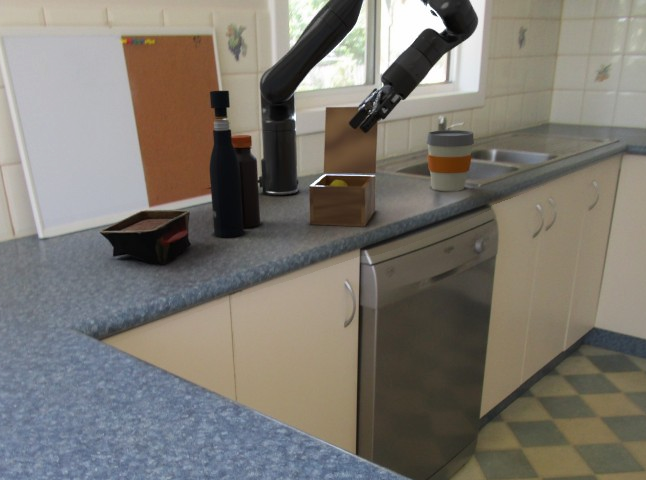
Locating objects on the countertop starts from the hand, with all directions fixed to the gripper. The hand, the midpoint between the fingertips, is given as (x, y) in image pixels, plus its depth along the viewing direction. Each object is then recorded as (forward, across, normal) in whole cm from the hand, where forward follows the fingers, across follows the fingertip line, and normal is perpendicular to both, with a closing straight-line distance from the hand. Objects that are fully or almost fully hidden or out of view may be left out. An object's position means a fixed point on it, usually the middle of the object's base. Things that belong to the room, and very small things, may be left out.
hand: (356, 128), depth 150 cm
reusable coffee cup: (-9, +24, -38) cm, 46 cm away
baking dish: (+48, -17, +19) cm, 54 cm away
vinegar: (+33, 0, +4) cm, 33 cm away
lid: (+2, +8, -3) cm, 9 cm away
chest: (+17, 0, -12) cm, 21 cm away
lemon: (+15, +1, -11) cm, 19 cm away
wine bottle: (+36, -6, +7) cm, 38 cm away
